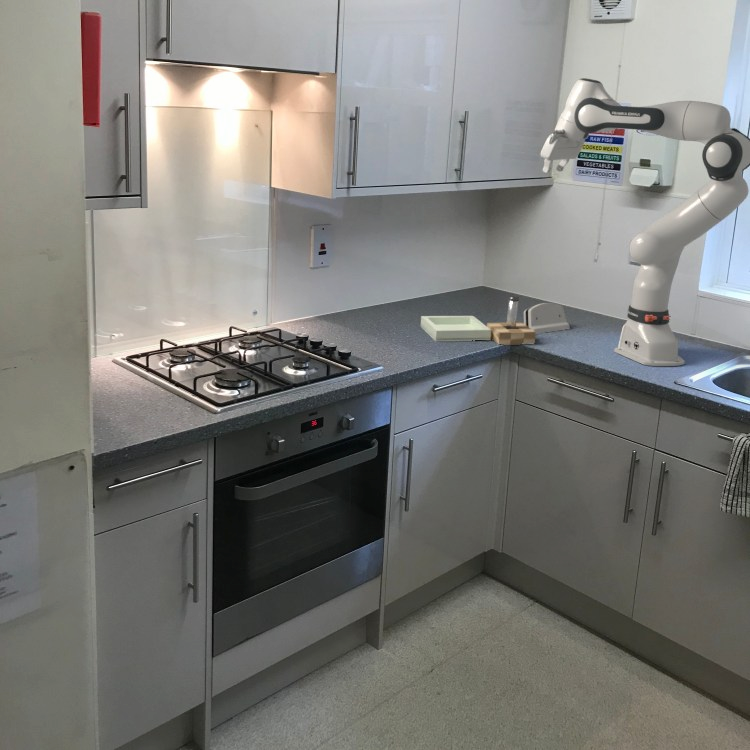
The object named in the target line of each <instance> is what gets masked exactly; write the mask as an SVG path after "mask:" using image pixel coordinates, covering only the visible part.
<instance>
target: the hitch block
mask: <svg viewBox="0 0 750 750" xmlns="http://www.w3.org/2000/svg"><path fill="white" fill-rule="evenodd" d="M506 325H507V322H487V323H486V326H487V327H488V328H489V329H490V330H491V337H490V340H492V339H493V340H494V341H495V342H497V343H498V344H504V345H503V346H516V345H517V346H521V345H520V344H522V343H524V344H526V343H536V335H537V334H536V332H535V331H533V330H532V329H530V328H529V327H528V326H526V325H525V324H524V322H521V321H519V322H516V329H506ZM493 340H492V341H493ZM494 341H493V342H494ZM495 342H494V343H495ZM497 343H496V344H497ZM498 344H497V345H498Z"/></svg>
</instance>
